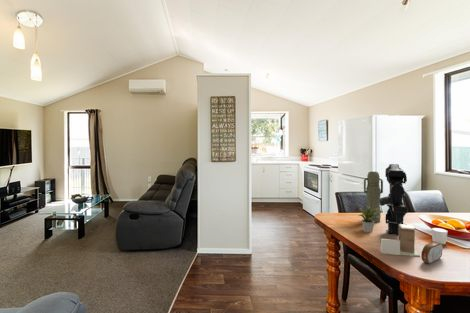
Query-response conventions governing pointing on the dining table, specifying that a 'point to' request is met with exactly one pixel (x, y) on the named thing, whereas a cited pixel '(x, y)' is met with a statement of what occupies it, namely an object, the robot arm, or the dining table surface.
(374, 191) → the thermos
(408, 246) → the marked block
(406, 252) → the pad
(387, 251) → the low screen
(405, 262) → the dining table surface
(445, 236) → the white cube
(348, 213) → the dining table surface
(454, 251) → the dining table surface
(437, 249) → the tin
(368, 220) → the house plant
